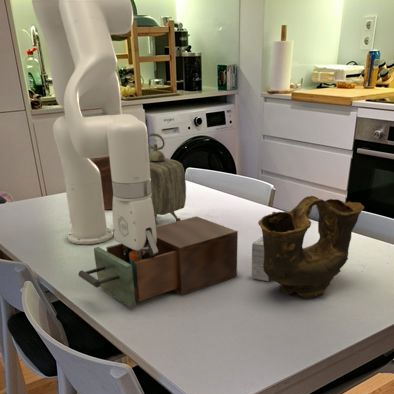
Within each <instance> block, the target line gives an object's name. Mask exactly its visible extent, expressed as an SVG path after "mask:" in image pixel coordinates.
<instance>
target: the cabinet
mask: <svg viewBox="0 0 394 394" xmlns="http://www.w3.org/2000/svg"><path fill="white" fill-rule="evenodd" d="M238 233H239V231H238V230H235V229H232V228H229V227H227V226H224V225H222V224H219V223H216V222H213V221H211V220H208V219H206V218H204V217H200V216H197V215H196V216H192V217H189V218H188V217H187V218H185V219H181V220H180V221H176V220H175V221H172V222H169V223H165V224H161V225H156V235H157V241H158V242H160V243H162V244H164V245H166V246H168V247H171V248H173V249H175V250H177V251H178V267H179V288H177V289H174V290H172V291H173V292H174V293H177V294H178V295H180V296H182V297H183V296H185V295H189V294H191V293H194V292H197V291H200V290H203V289H206V288H209V287H211V286H214V285H216V284H220V283H222V282H225V281H228V280H232V279H234V278H237V277H238V237H239V236H238Z"/></svg>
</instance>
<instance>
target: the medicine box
mask: <svg viewBox="0 0 394 394" xmlns="http://www.w3.org/2000/svg"><path fill="white" fill-rule="evenodd" d="M263 263H264V246H263V236H261V237H260V238H258V239H257V240H255V241H254V242H252V245H251V275H250V277H251V279H253V280H258V281H263V282H270V281H271V279H270V278H268V276H267V274H266V273H265V272H264V268H263Z"/></svg>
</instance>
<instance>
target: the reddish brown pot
mask: <svg viewBox="0 0 394 394" xmlns="http://www.w3.org/2000/svg"><path fill="white" fill-rule="evenodd" d="M90 160H91V161H92V162H93V163H94V164H95V165H96V166H97V167H98V169H99V171H100V176H101V184H102V192H103V201H104V209H105V210H113V186H112V177H111V167H110V158H109V156H108V157H100V158H90Z"/></svg>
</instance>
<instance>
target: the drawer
mask: <svg viewBox="0 0 394 394" xmlns="http://www.w3.org/2000/svg"><path fill="white" fill-rule="evenodd" d="M144 246H146V244H144ZM156 246H157V249H158V253H157V254H156V255H155V256H154V257H151V258H147V259H144V260H140V261H137V262H134V267H135V278H136V286H134V283H133V272H132V265H131V264H129V263H127V262H125V256H126V255H124V254H123V247H122V245H121V243H117V244H114V245H109V246H106V250H105V249H103V248H102V247H100V246H96V247H93V255H94V262H95V268H93V269H88V270H85V271H84V270H79V271H78V274H77V275H78V277H79V278H81V279H82V280H84V281H85V282H87V283H89V284H90V285H92V286H93V287H95V288H100V289H102V290H103V291H105V292H106V293H108V294H109V295H111V296H112V297H114V298H115V299H117V300H118V301H120V302H121V303H123V304H124V305H126V306H128V307H129V308H133V307H134V308H135V307H136V306H137V305H136V301H138V302H141V301H144V300H147V299H150V298H153V297H155V296H158V295H162V294H164V293H168V292H170V291H173V290H174V289H177V288H179V267H178V251H177V250H175V249H173V248H171V247H168V246H166V245H164V244H162V243H160V242H158V241H156ZM144 251H146V252H147V250H144ZM95 273H96V276H97V278H95V276H94V277H93V276H92V275H91V274H95Z"/></svg>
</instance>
